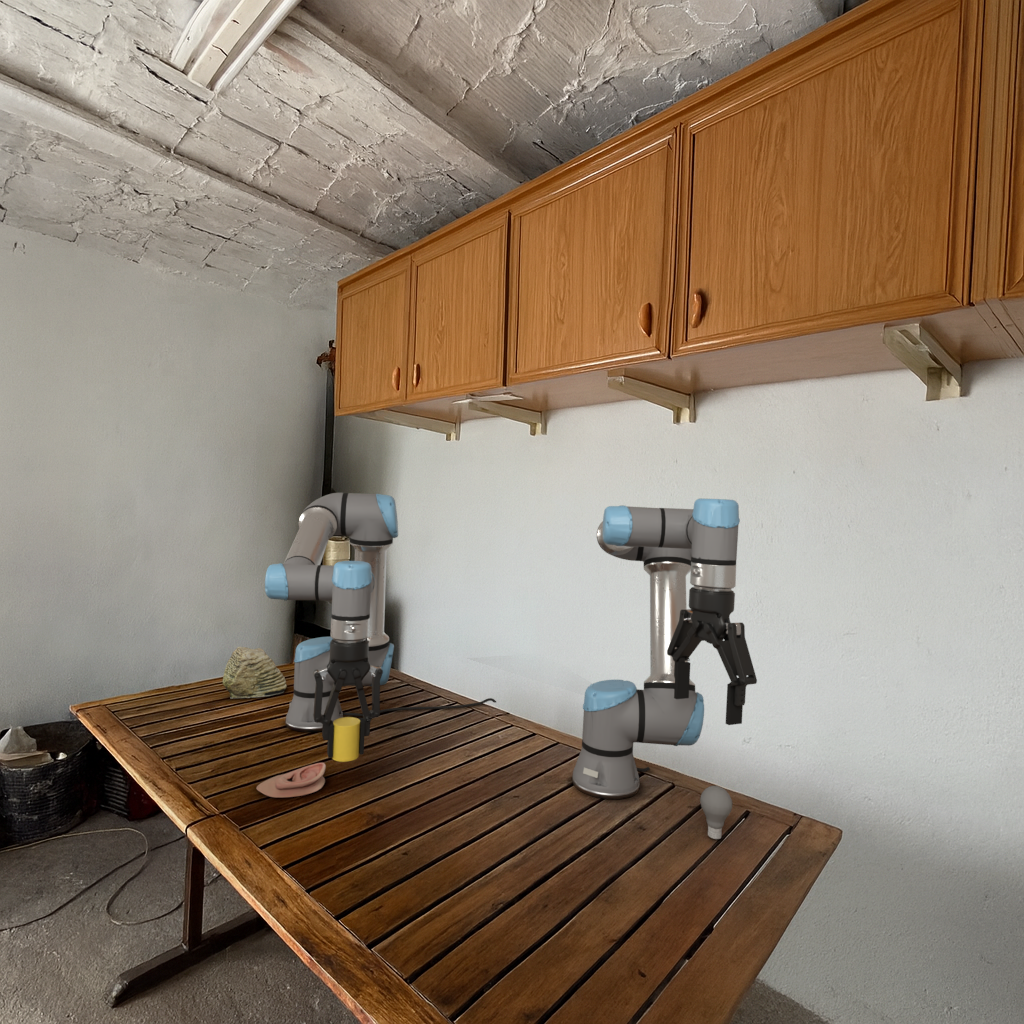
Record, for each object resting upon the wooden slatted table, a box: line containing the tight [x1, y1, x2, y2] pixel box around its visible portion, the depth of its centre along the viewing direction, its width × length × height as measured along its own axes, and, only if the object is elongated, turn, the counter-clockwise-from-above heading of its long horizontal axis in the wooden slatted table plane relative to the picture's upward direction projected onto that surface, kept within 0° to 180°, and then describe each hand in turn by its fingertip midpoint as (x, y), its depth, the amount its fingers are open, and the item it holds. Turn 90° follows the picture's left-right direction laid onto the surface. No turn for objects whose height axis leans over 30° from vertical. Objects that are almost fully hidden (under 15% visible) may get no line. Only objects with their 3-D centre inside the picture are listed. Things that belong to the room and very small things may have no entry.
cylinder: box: [331, 716, 360, 763], centre depth 127 cm, size 5×5×7 cm
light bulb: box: [699, 785, 734, 840], centre depth 124 cm, size 6×6×10 cm
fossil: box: [222, 646, 288, 699], centre depth 198 cm, size 9×18×15 cm, turn 132°
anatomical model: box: [256, 762, 327, 799], centre depth 137 cm, size 13×4×12 cm
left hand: (345, 753), depth 127 cm, fingers closed on cylinder, 5 cm apart
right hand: (706, 710), depth 110 cm, fingers open, 13 cm apart
